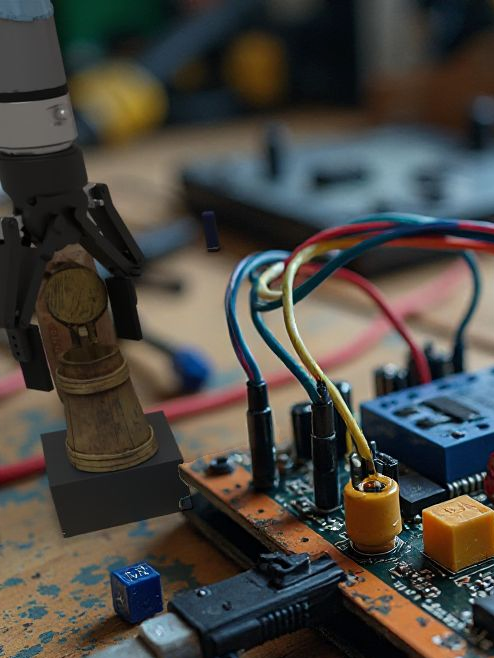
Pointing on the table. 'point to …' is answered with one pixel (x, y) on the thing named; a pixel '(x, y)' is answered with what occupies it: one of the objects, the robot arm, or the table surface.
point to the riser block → (114, 484)
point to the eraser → (210, 230)
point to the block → (51, 330)
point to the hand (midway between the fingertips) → (87, 362)
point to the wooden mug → (95, 379)
